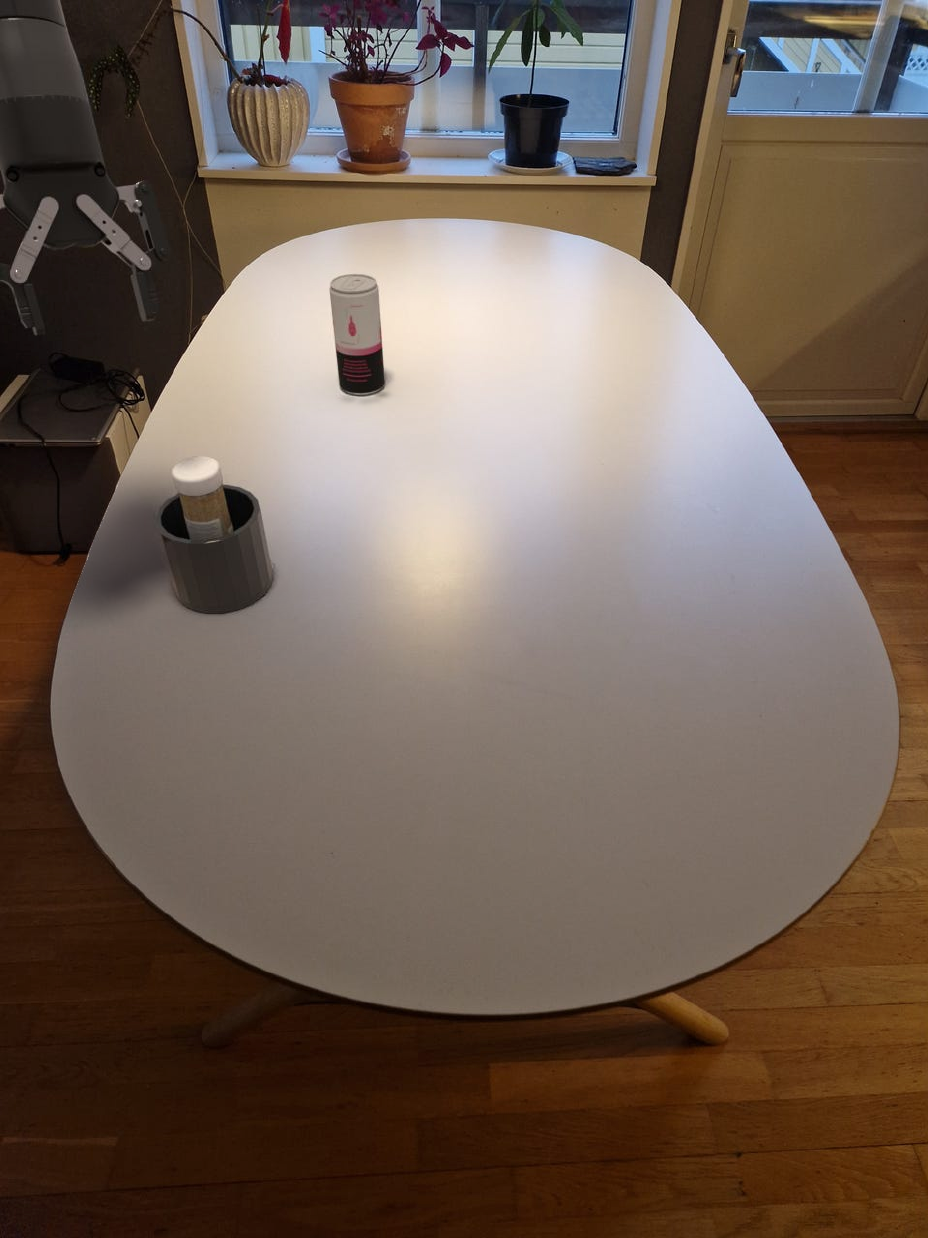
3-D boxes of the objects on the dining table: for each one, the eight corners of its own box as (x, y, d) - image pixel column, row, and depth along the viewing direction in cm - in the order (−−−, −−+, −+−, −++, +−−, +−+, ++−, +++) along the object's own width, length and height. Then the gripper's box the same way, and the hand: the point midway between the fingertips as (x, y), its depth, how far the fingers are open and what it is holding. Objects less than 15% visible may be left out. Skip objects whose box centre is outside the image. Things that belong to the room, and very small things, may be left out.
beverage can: (392, 379, 127) (386, 276, 117) (372, 399, 122) (364, 294, 112) (352, 372, 128) (342, 270, 118) (331, 391, 124) (320, 287, 114)
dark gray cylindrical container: (178, 622, 87) (157, 551, 81) (172, 563, 94) (152, 493, 88) (279, 602, 89) (266, 532, 83) (265, 545, 97) (252, 477, 91)
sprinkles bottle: (251, 568, 92) (228, 459, 83) (228, 593, 89) (202, 483, 80) (214, 558, 93) (188, 450, 84) (190, 583, 90) (160, 474, 81)
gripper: (-70, 90, 59) (5, 338, 64) (141, 88, 65) (193, 313, 71) (-70, 117, 65) (-1, 341, 71) (123, 113, 71) (172, 318, 77)
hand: (96, 327), depth 71 cm, fingers open, 8 cm apart
